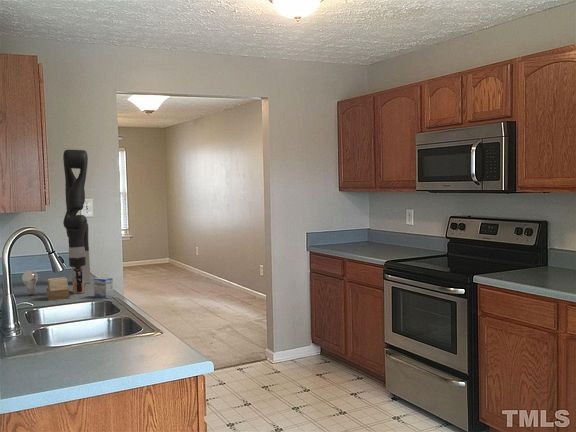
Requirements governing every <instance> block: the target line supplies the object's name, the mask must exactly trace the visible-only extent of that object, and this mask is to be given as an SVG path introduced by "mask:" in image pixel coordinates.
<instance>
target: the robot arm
mask: <svg viewBox="0 0 576 432" xmlns="http://www.w3.org/2000/svg"><path fill="white" fill-rule="evenodd" d="M62 157H63V158H62V159H63V171H64V178H65V184H64V186H65V205H66V206H65V208H66V211H65V214H64V218H63V227H64V229H66V230H65V231H66V235H67V237H68V266H69V267H71V284H72V285H73V282H76V284H77V292H82V281H84V282H85V285H87V284H90V283H91V281H92V280H91V264H90V263H91V262H90V261H91V260H90V246H89V244H90V243H89V223H88V219H87V217H86V216H85V215H83V214H78V213H79V211H82V210H83V209H84V204H85V202H86V189H85V184H86V180H87V171H88V161H89V159H88V152H87V151H86V150H84V149H65V150H64V151H63V156H62ZM73 169H76V170H77V169H79V174H78V176H77V177H76V176H75V174H74V172H73Z"/></svg>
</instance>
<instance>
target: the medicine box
mask: <svg viewBox="0 0 576 432" xmlns="http://www.w3.org/2000/svg"><path fill="white" fill-rule="evenodd" d="M113 280H114V279H113V278H111V277H95V278H93V293H94V294H93V295H94V298H101V299H102V298H103V299H107V298H112V297H114V281H113Z"/></svg>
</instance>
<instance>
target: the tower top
mask: <svg viewBox="0 0 576 432" xmlns="http://www.w3.org/2000/svg"><path fill="white" fill-rule="evenodd" d="M47 288H48V289H49V290H50V291H55V290H64V289H68V288H69V284H68V279H67V277H65V276H63V277H56V278H55V277H54V278H47Z"/></svg>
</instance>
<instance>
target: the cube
mask: <svg viewBox="0 0 576 432" xmlns="http://www.w3.org/2000/svg"><path fill="white" fill-rule="evenodd" d="M85 286H86V284H85V282H84V281H82V292H77V284H76V282H73V284H72V293H73V294H74V295H76V294H84V293H86V288H85Z"/></svg>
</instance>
